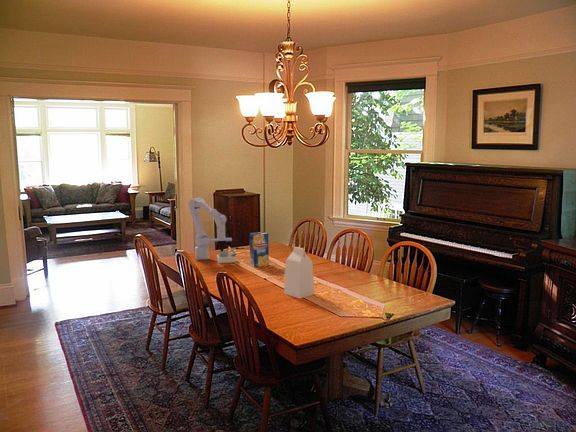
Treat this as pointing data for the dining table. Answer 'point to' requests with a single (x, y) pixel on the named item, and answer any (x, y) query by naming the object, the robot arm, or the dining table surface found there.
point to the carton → (226, 258)
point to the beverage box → (259, 249)
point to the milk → (298, 274)
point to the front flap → (223, 254)
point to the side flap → (232, 250)
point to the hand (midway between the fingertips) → (221, 251)
